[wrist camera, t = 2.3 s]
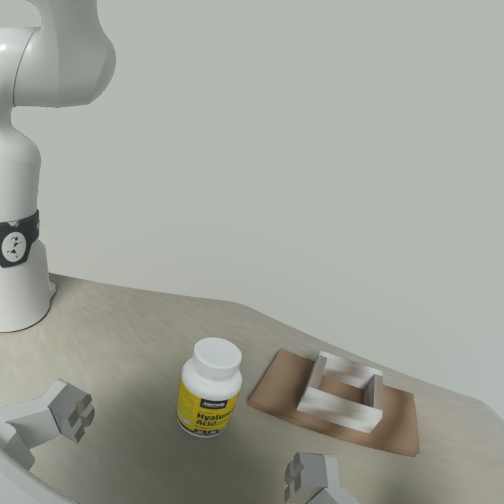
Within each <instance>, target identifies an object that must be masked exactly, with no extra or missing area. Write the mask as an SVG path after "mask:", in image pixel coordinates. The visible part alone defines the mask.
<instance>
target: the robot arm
mask: <svg viewBox="0 0 504 504" xmlns="http://www.w3.org/2000/svg"><path fill="white" fill-rule="evenodd" d="M27 1H29V2H30V3H32V4H33V5H35V6H36V7H37V9H38V10H39V13H40V16H41V26H40V27H3V28H0V332H11V331H17V330H21V329H24V328H27V327H29V326H31V325H33V324H35V323H36V322H38V321H39V320H40V319H42V318H43V317H44V315H45V314H46V313H47V311H48V309H49V306H50V299H51V297H52V296H53V295H54V294H55V292H56V285H55V283H53V282H51V281H50V280H49V274H48V266H47V257H46V248H45V245H44V244H43V243H42V242H41V241H40V240H39V239H38V236H39V226H40V220H39V211H38V209H37V193H38V183H39V173H40V165H41V157H40V152H39V150H38V148H37V146H36V145H35V144H34V142H33V141H32V140H30V139H29V138H28V137H27V136H25V135H24V134H22V133H21V132H19V131H18V130H16V129H15V128H14V127H13V126H12V124H11V110H12V107H16V106H40V107H56V108H59V107H69V106H77V105H86V104H90V103H91V102H92V101H94V100H95V99H96V98H97V97H99V96H100V95H101V93H102V92H103V91H104V90H105V88H106V87H107V86H108V84H109V82H110V80H111V78H112V76H113V73H114V69H115V64H116V56H115V50H114V47H113V45H112V43H111V41H110V40H109V38H108V37H107V36H106V34H105V33H104V31H103V29H102V28H101V25H100V23H99V19H98V15H97V7H96V2H97V0H27ZM91 401H92V398H91V395H90V394H88V393H86V392H84V391H82V390H80V389H78V388H77V387H75V386H73V385H71V384H70V383H68V382H66V381H64V380H62V379H58V380H56V381H55V382H54V383H53V384H52V386H51V387H50V388H49V389H48V390H47V391H46V392H45V393H44V394H43V395H42V396H41V398H40V399H39V400H36V399H34V400H30V401H26V402H22V403H18V404H13V405H9V406H5V407H0V504H79V503H78V502H76V501H74V500H72V499H71V498H69V497H67V496H65V495H64V494H62V493H60V492H59V491H57V490H56V489H54V488H53V487H51V486H49V485H48V484H46V483H45V482H43V481H42V480H41V479H39V478H38V477H36V476H35V475H34V474H32V473H31V472H29V470H30V468H31V467H32V465H33V464H34V462H35V458H34V456H33V455H32V453H31V452H30V450H29V449H31V448H33V447H36V446H38V445H40V444H43V443H45V442H47V441H50V440H52V439H54V438H56V437H59V436H61V434H62V435H63V436H65V437H67V438H69V439H70V440H72V441H74V442H76V443H78V442H79V441H80V439H81V438H82V436H83V435H84V433H85V432H84V428H85V427H87V426H90V424H91V422H92V421H93V418H94V412H95V410H94V407H93V405H92V404H91V403H90V402H91ZM285 482H286V483H287V485H288V487H287V488H286V489H285V503H290V504H360V503H359V502H358V501H357V500H356V499H355V498H354V497H353V496H352V495H351V494H350V493H349V491H348V490H347V489H346V488H345V487H341V483H340V476H339V470H338V464H337V458H336V456H335V455H334V454H316V453H296V454H295V456H294V460H293V461H291V462H290V463H289V464H288V466H287V468H286V471H285Z"/></svg>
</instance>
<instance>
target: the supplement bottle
mask: <svg viewBox="0 0 504 504" xmlns="http://www.w3.org/2000/svg"><path fill="white" fill-rule="evenodd" d="M241 359H242V354H241V352H240V350H239V348H238V347H237V346H236V345H234V344H233V343H231V342H229V341H227V340H225V339H221V338H214V337H210V338H204V339H201V340H199V341H198V342H197V343H196V344H195V346H194V351H193V355H192V358H190V359H189V360H187V361H186V363H185V364H184V366H183V368H182V373H181V380H180V387H179V394H178V402H177V409H176V418H177V421H178V423H179V425H180V426H181V427H182V428H183V429H184V430H185V431H186V432H187V433H189V434H191V435H193V436H196V437H200V438H210V437H215V436H217V435H219V434H221V433H222V432H223V431H224V430H225V429H226V427H227V425H228V422H229V420H230V417H231V414H232V412H233V409H234V406H235V403H236V400H237V397H238V395H239V392H240V389H241V385H242V375H241V372H240V370H239V367H240V363H241Z"/></svg>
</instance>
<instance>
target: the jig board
mask: <svg viewBox="0 0 504 504" xmlns="http://www.w3.org/2000/svg"><path fill="white" fill-rule="evenodd" d="M248 405H250V406H252V407H254V408H257V409H259V410H261V411H264V412H266V413H268V414H271V415H273V416H276V417H278V418H281V419H283V420H286V421H288V422H291V423H294V424H296V425H299V426H302V427H304V428H307V429H310V430H313V431H316V432H319V433H322V434H325V435H328V436H331V437H334V438H338V439H341V440H344V441H348V442H351V443H355V444H359V445H363V446H367V447H371V448H375V449H379V450H383V451H388V452H393V453H397V454H403V455H408V456H414V457H415V456H416V455H417V454H418V453H419V441H418V429H417V419H416V410H415V402H414V395H413V394H412V393H408V392H405V391H401V390H398V389H395V388H391V387H388V386H385V385H383V384H382V371H379V370H376V369H373V368H370V367H367V366H364V365H361V364H358V363H355V362H352V361H349V360H347V359H344V358H341V357H338V356H335V355H332V354H330V353H327V352H324V351H322V350H320V352H319V355H318V357H317V359H316V361H315V362H314V361H311V360H309V359H306V358H303V357H301V356H298V355H296V354H293V353H291V352H288V351H286V350H283V349H280V351H279V353H278V354H277V356H276V358H275V359H274V361H273V363H272V364H271V366H270V367H269V369H268V371H267V372H266V374H265V375H264V377H263V379H262V380H261V382H260V383H259V385H258V386H257V388H256V389H255V391H254V392H253V394H252V396H251V397H250V399H249V401H248Z"/></svg>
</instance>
